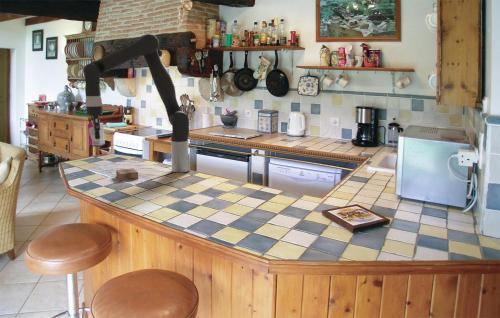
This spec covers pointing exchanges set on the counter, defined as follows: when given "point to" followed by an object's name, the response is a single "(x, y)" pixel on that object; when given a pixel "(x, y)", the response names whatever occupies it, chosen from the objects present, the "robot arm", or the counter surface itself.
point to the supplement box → (92, 136)
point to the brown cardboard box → (127, 174)
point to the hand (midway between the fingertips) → (96, 137)
